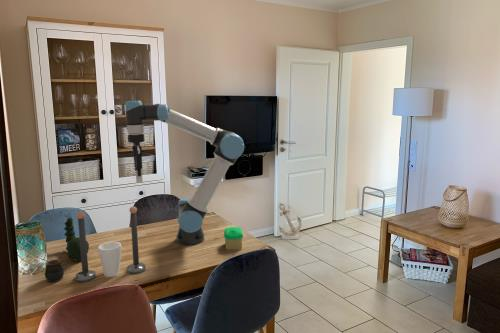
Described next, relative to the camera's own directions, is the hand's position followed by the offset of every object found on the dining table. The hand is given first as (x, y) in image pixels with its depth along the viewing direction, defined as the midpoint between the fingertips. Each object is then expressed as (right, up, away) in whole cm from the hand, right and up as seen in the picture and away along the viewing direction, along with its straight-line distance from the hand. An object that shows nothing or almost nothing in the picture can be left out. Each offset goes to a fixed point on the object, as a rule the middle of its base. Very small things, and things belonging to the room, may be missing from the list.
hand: (139, 182), depth 184 cm
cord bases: (-7, -40, -17) cm, 43 cm away
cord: (+2, -37, -13) cm, 40 cm away
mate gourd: (-30, -41, -22) cm, 55 cm away
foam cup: (-7, -40, -17) cm, 44 cm away
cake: (+45, -34, +14) cm, 58 cm away
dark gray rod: (-17, -39, -21) cm, 47 cm away
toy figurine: (-31, -36, +1) cm, 48 cm away
